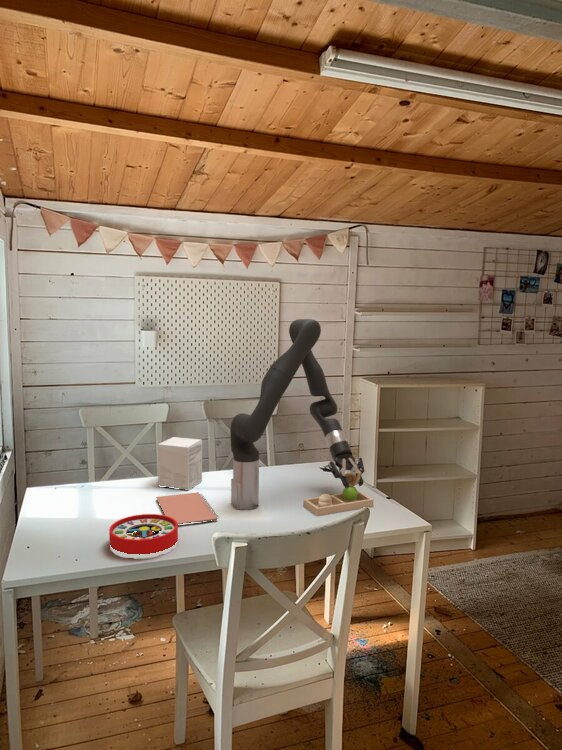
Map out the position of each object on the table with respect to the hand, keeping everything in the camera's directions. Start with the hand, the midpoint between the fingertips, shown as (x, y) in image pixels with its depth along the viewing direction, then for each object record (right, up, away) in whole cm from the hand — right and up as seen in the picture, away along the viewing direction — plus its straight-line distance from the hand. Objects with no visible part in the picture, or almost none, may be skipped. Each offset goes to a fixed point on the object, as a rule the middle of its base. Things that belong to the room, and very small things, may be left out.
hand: (354, 485), depth 203 cm
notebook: (-59, -9, -3) cm, 60 cm away
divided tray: (-6, -8, 0) cm, 10 cm away
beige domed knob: (-11, -7, -2) cm, 13 cm away
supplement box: (-66, -4, +24) cm, 71 cm away
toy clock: (-67, -12, -31) cm, 75 cm away
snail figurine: (-1, -6, +2) cm, 6 cm away
